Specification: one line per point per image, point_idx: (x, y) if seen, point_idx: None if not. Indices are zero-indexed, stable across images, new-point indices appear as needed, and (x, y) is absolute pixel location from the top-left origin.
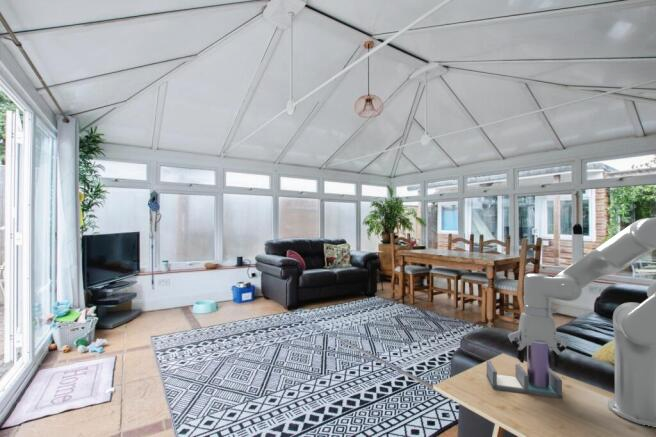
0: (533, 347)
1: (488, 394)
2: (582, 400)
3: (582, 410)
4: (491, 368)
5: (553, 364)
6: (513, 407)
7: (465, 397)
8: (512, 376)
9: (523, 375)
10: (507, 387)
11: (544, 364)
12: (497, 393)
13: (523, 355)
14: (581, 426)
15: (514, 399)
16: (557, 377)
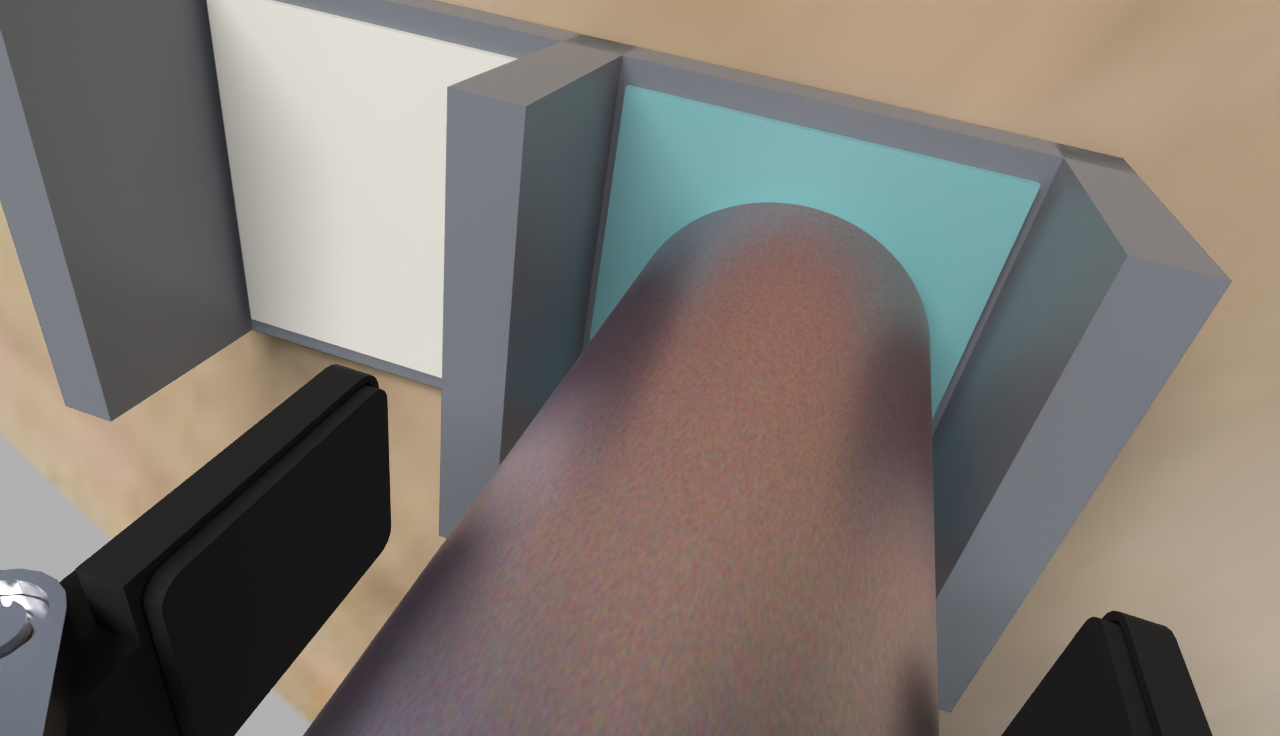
0: None
1: (199, 406)
2: (1197, 574)
3: (964, 696)
4: (42, 318)
5: (1024, 722)
6: (360, 581)
7: (43, 438)
8: (505, 55)
9: (448, 495)
10: (357, 361)
11: None
12: (274, 393)
13: (280, 667)
14: None
15: (400, 491)
16: (960, 641)
